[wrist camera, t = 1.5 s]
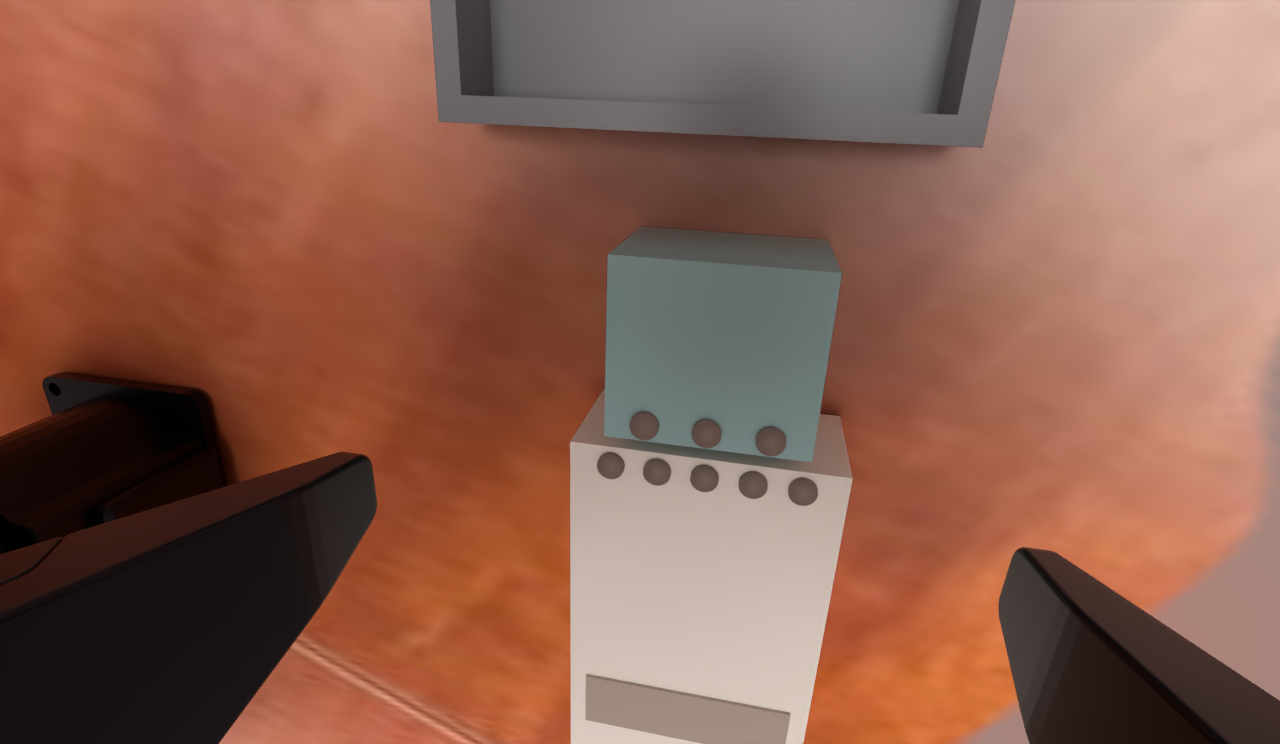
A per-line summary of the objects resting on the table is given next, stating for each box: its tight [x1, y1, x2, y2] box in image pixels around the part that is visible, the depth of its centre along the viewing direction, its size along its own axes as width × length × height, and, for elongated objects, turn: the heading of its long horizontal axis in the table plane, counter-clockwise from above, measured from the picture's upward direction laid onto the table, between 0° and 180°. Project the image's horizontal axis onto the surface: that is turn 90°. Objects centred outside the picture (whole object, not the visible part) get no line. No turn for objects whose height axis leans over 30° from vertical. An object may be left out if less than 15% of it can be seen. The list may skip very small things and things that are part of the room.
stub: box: [604, 226, 842, 462], centre depth 16 cm, size 5×4×4 cm
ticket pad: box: [570, 389, 853, 744], centre depth 20 cm, size 7×11×4 cm, turn 178°
